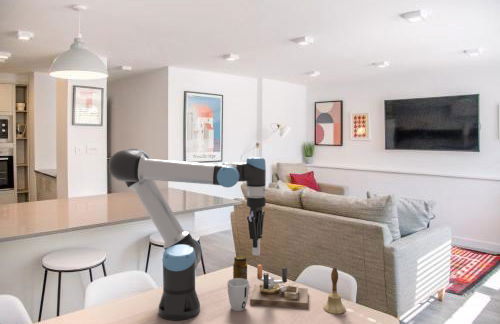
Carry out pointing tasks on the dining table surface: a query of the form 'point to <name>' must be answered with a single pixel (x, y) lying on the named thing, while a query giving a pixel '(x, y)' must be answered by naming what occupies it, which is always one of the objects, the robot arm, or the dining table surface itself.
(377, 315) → the dining table surface
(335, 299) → the hand bell
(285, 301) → the stand
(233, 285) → the cup
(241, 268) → the condiment
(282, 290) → the ball
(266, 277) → the capstan
